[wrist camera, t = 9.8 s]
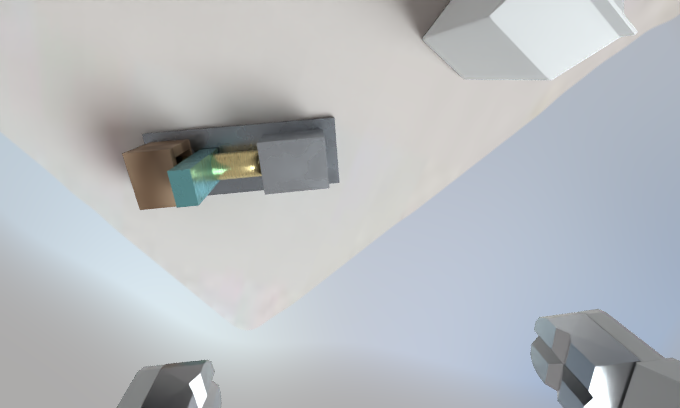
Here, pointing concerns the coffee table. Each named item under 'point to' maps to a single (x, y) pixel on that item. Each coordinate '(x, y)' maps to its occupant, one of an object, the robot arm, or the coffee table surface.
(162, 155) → the socket
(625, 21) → the milk carton
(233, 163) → the rod
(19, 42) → the coffee table surface
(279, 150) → the grey base plate
